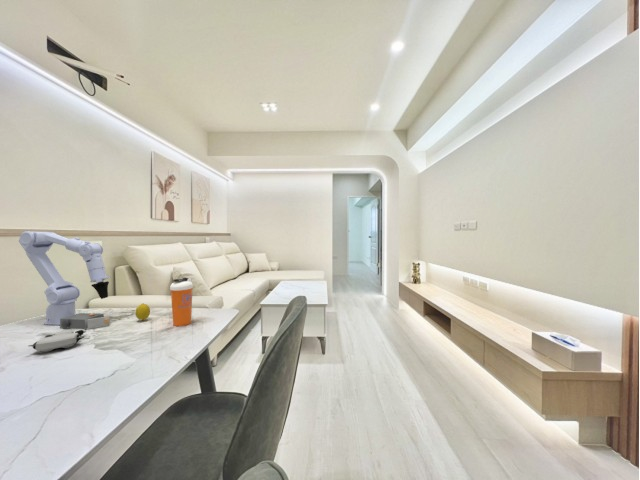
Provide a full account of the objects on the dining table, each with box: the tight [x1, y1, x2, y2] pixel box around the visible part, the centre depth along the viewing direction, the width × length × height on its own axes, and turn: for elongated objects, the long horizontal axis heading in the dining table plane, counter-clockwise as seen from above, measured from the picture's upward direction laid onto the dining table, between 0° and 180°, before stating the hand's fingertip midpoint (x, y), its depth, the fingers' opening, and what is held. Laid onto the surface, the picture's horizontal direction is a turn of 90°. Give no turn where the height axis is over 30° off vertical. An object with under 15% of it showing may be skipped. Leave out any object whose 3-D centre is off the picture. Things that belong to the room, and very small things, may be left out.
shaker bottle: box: [169, 277, 194, 327], centre depth 110 cm, size 9×9×20 cm
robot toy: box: [27, 329, 87, 353], centre depth 89 cm, size 12×4×15 cm
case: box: [59, 312, 105, 330], centre depth 109 cm, size 12×9×5 cm
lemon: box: [135, 303, 151, 322], centre depth 115 cm, size 6×6×8 cm
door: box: [84, 315, 110, 330], centre depth 106 cm, size 2×8×4 cm, turn 123°
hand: (104, 298), depth 113 cm, fingers open, 7 cm apart
